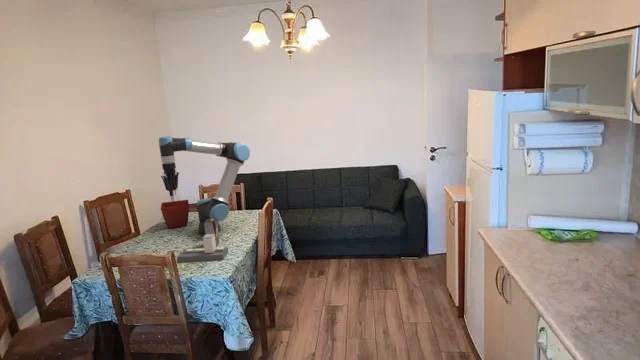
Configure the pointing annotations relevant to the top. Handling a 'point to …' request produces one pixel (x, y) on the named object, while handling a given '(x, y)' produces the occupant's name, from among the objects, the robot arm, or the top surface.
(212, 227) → the coffee box
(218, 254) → the switch deck
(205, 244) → the switch tab
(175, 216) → the plant pot
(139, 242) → the top surface
